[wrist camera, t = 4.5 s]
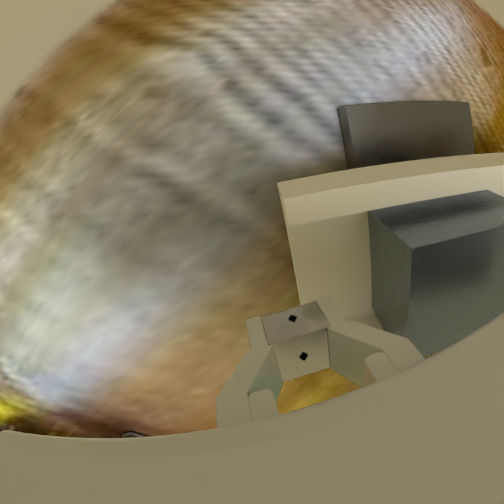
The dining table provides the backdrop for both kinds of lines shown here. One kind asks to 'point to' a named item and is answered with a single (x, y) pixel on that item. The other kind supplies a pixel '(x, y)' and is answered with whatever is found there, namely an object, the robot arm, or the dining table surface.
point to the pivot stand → (405, 131)
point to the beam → (365, 220)
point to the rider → (438, 267)
